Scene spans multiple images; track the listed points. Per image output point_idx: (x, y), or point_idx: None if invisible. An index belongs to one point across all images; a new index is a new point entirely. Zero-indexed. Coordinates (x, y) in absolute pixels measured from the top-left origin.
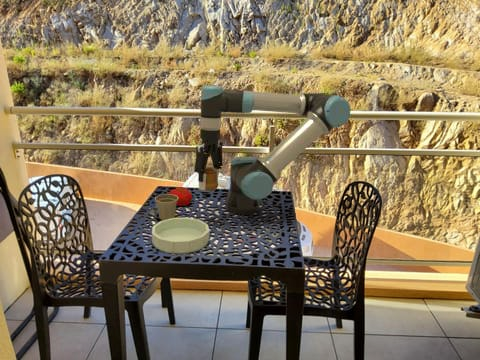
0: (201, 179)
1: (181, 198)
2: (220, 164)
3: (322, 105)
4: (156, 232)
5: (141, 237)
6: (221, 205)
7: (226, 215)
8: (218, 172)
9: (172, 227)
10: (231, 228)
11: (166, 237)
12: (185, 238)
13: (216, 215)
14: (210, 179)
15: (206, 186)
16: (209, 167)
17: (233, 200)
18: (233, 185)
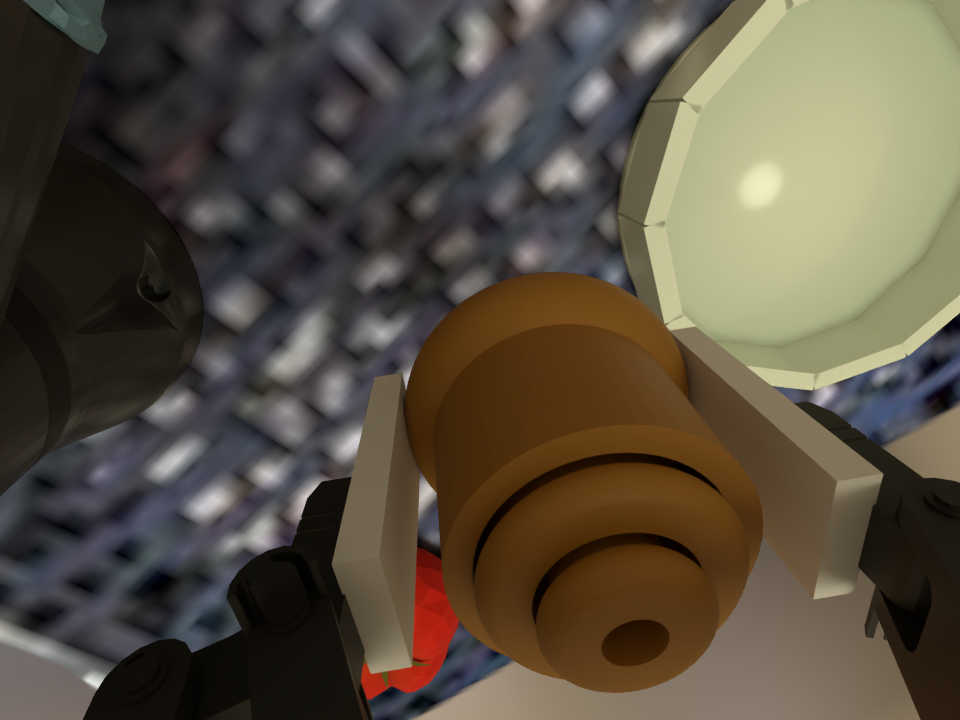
0: (843, 430)
1: (430, 585)
2: (191, 697)
3: None
4: (856, 330)
5: (865, 372)
6: (182, 422)
7: (273, 267)
8: (303, 532)
9: (715, 341)
10: (416, 51)
11: (844, 259)
12: (800, 158)
13: (336, 318)
14: (664, 378)
15: (676, 347)
16: (591, 665)
17: (124, 321)
18: (14, 410)
